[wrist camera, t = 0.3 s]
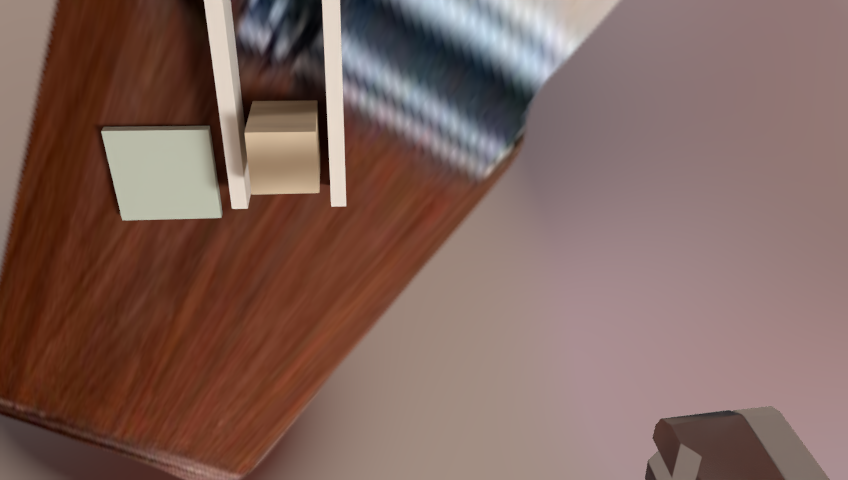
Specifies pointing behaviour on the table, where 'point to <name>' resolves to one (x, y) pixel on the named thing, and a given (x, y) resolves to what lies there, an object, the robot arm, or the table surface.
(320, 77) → the table surface
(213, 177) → the tile
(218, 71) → the frame
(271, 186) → the maple block
